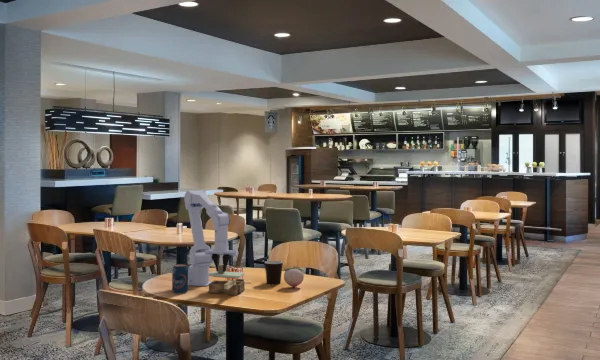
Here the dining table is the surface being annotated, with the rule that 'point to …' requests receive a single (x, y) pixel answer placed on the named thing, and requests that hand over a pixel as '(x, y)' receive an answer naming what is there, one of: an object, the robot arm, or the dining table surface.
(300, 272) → the decorative fruit
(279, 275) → the coffee mug
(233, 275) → the lid
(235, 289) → the toolbox
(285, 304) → the dining table surface
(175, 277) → the soda can
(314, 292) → the dining table surface
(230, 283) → the key
